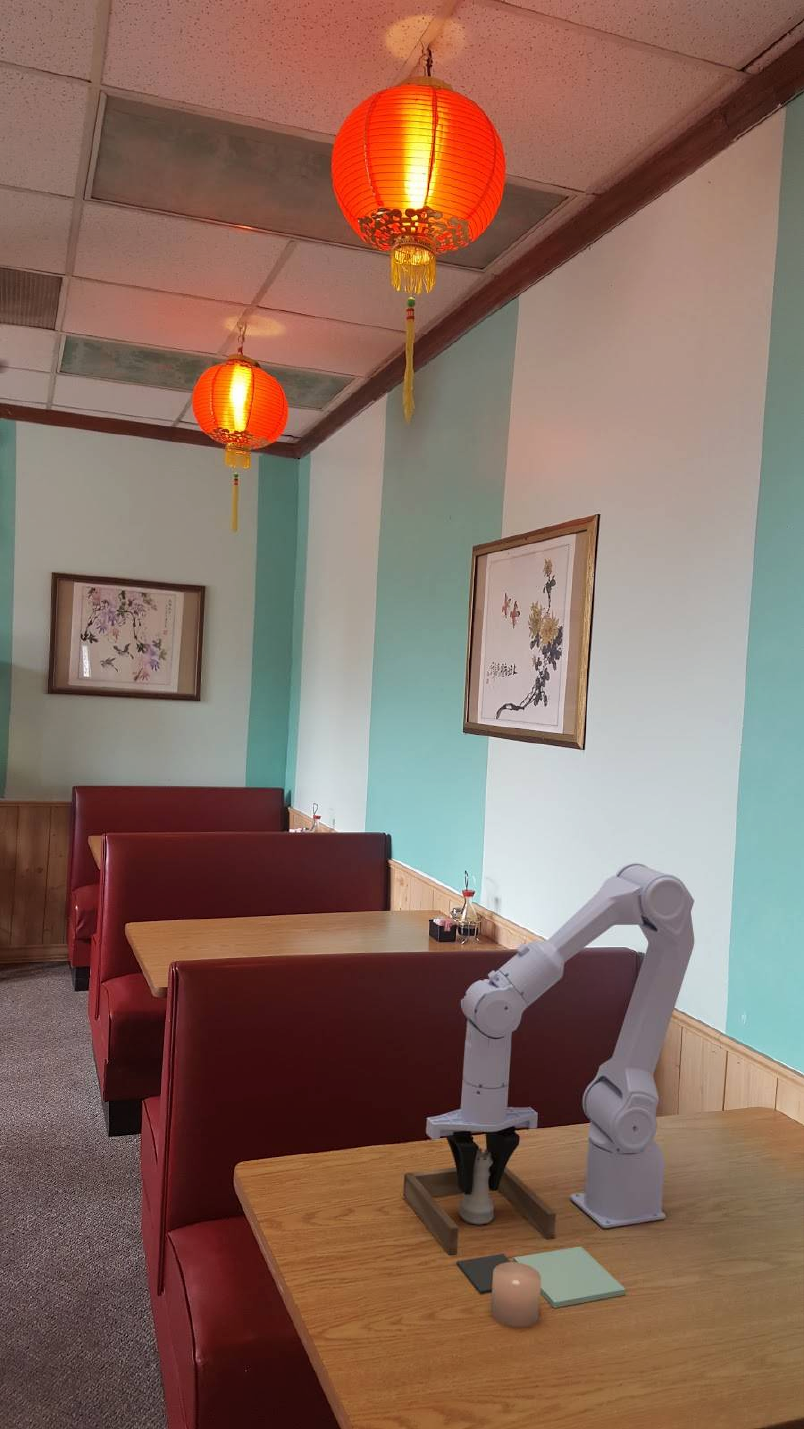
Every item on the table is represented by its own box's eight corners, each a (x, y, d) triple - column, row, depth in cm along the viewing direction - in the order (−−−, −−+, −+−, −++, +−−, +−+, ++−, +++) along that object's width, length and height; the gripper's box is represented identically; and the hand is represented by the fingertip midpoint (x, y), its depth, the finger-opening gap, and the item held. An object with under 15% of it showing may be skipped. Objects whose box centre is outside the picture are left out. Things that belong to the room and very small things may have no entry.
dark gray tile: (503, 1256, 116) (503, 1253, 116) (529, 1285, 110) (529, 1282, 110) (456, 1263, 114) (456, 1261, 114) (480, 1293, 108) (480, 1291, 108)
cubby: (499, 1184, 134) (501, 1161, 134) (554, 1237, 121) (555, 1213, 121) (402, 1196, 128) (404, 1173, 128) (449, 1254, 115) (450, 1228, 115)
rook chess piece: (492, 1228, 122) (496, 1163, 122) (455, 1222, 123) (460, 1157, 123) (495, 1211, 126) (500, 1147, 126) (460, 1205, 127) (465, 1142, 127)
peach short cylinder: (523, 1295, 108) (526, 1259, 108) (547, 1323, 104) (550, 1284, 104) (482, 1303, 106) (485, 1265, 106) (504, 1331, 102) (507, 1292, 102)
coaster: (580, 1251, 118) (580, 1246, 118) (625, 1294, 110) (625, 1289, 110) (513, 1262, 115) (513, 1257, 115) (554, 1308, 106) (554, 1302, 106)
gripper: (521, 1064, 131) (514, 1167, 131) (419, 1072, 125) (412, 1180, 125) (548, 1084, 124) (541, 1193, 124) (442, 1094, 119) (435, 1208, 119)
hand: (478, 1189), depth 125 cm, fingers closed on rook chess piece, 3 cm apart
